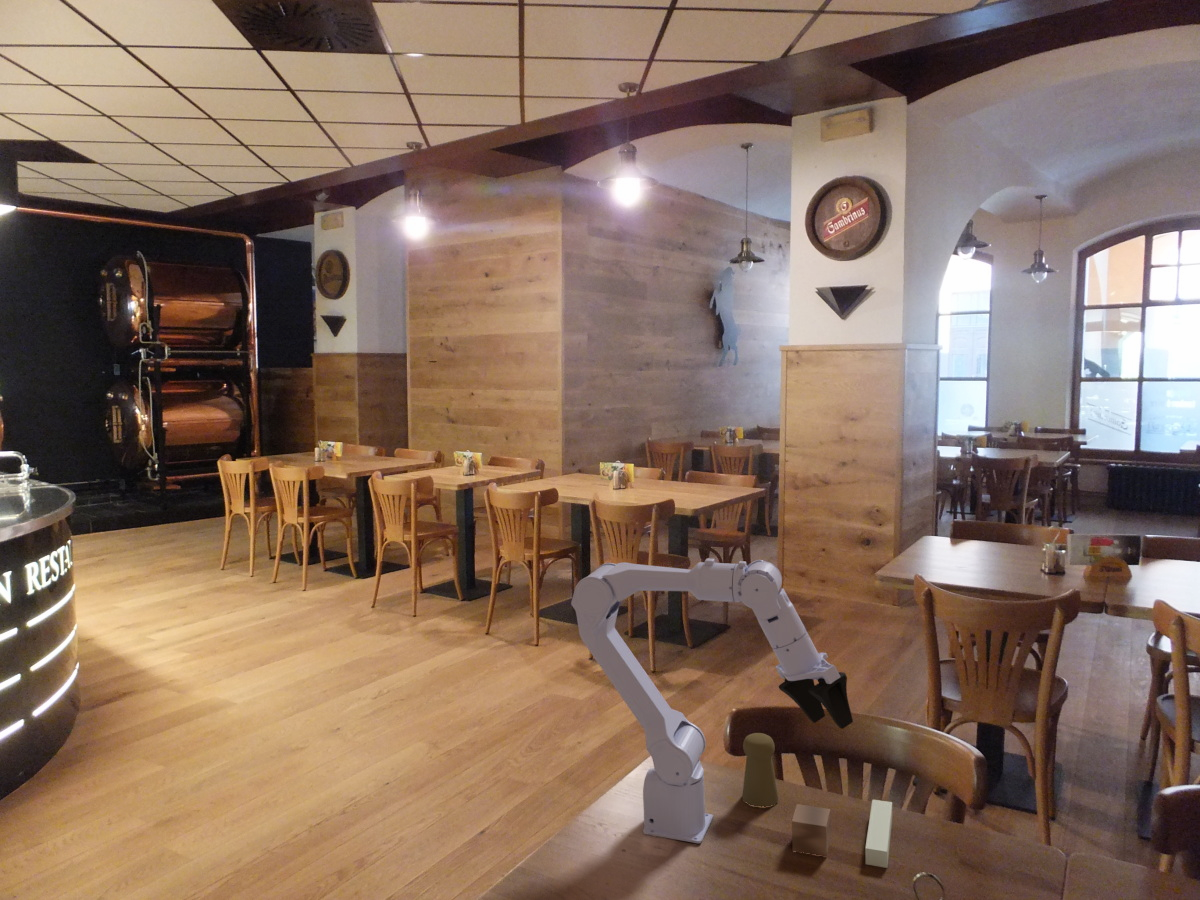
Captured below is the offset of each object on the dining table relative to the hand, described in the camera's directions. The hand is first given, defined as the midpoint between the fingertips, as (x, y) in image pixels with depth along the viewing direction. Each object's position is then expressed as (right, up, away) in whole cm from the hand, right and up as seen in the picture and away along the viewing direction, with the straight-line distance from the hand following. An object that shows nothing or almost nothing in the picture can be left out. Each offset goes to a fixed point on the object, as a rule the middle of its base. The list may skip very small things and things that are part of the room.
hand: (832, 722), depth 124 cm
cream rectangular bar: (+8, -19, +4) cm, 22 cm away
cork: (-7, -19, +18) cm, 27 cm away
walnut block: (-2, -20, +4) cm, 21 cm away
